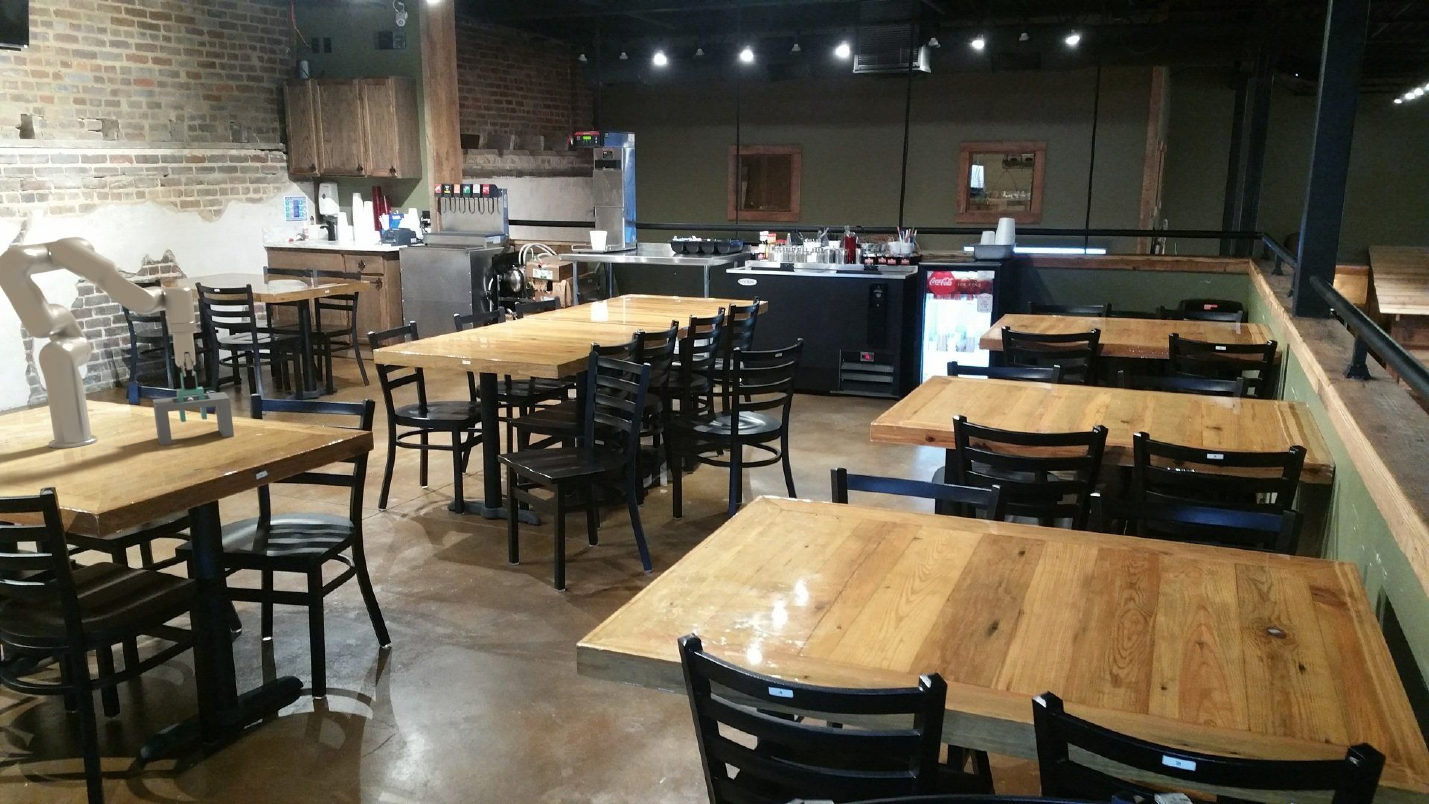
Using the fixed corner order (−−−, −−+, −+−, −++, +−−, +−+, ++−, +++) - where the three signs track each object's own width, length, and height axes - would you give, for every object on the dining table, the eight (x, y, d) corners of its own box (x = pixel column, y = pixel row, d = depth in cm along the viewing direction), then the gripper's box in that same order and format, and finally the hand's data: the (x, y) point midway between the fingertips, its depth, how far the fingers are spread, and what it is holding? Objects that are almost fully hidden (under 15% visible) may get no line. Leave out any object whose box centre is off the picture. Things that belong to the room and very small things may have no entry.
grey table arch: (157, 437, 315) (152, 399, 313) (228, 429, 325) (224, 391, 323) (160, 445, 305) (155, 406, 303) (234, 436, 315) (229, 398, 313)
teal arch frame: (180, 419, 314) (174, 373, 311) (205, 416, 318) (200, 370, 315) (181, 422, 311) (175, 375, 308) (207, 419, 314) (201, 372, 311)
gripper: (166, 326, 313) (173, 385, 317) (170, 332, 300) (178, 393, 303) (193, 324, 317) (200, 382, 321) (199, 329, 303) (206, 390, 307)
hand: (189, 387), depth 312 cm, fingers closed on teal arch frame, 3 cm apart
